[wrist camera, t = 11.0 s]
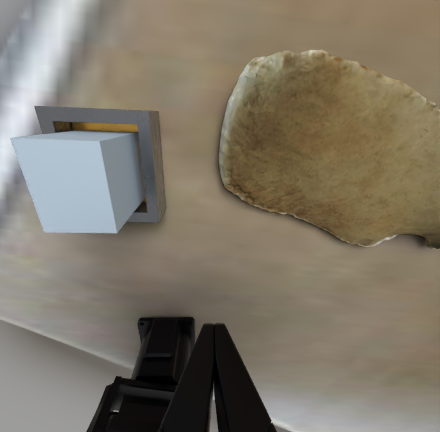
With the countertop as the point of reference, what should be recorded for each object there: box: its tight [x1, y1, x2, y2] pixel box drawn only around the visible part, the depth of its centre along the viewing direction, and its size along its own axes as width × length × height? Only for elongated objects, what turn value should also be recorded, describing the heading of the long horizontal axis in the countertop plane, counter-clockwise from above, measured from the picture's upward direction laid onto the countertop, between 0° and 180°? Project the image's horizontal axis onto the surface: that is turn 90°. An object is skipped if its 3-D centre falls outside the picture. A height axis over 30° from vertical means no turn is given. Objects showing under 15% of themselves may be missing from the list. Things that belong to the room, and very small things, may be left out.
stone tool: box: [219, 50, 440, 249], centre depth 17 cm, size 12×4×25 cm
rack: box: [34, 106, 166, 222], centre depth 16 cm, size 8×7×3 cm
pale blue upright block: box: [10, 130, 146, 233], centre depth 14 cm, size 5×4×6 cm
